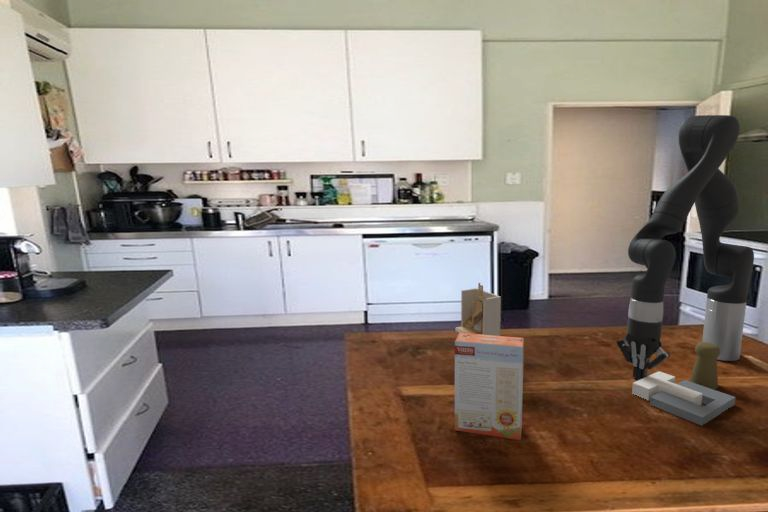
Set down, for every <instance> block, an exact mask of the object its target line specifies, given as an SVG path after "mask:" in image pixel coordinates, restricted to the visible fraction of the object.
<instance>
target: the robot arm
mask: <svg viewBox="0 0 768 512" xmlns="http://www.w3.org/2000/svg"><path fill="white" fill-rule="evenodd" d="M740 130H741V129H740V123H739V120H738V119H737V118H736V116H733V115H727V114H726V115H725V114H724V115H723V114H717V115H716V114H710V115H708V114H707V115H706V114H704V115H701V114H700V115H699V114H698V115H692V116H689V117H686V118H685V119H684V120H683V121H682V123H681V125H680V126H679V130H678V146H679V150H680V153H681V155H682V158H683V161H684V164H685V167H686V170H687V173H686V174H684V175H683V176H682V177H681V178H679V179H678V180H677V181H675V182H673V184H672V185H670V187H668V188H667V189H666V190H664V191H665V192H664V193H662V195H661V197H660V198H659V200H658V203H657V204H656V207H655V209H654V210H653V212H652V214H651V216H650V218H649V219H648V220H647V222H645V223H644V224H643V226H642V227H641V228H640V229H639V230H638V232H637V233H635V235H634V236H633V237H632V239H631V241H630V243H629V245H628V249H627V255H628V258H629V260H630V261H631V262H632V263H634V264H636V265H641V266H644V267H645V266H646V267H647V269H646V272H645V274H638V275H635V276H634V277H633V279H632V283H631V294H630V299H629V300H630V301H629V306H628V309H627V310H628V311H627V312H628V317H627V325H626V327H627V328H626V331H627V333H626V334H625V337H624V338H622V339H619V340H617V341H616V344H617V346H618V348H619V349H620V352H621V354H622V355H623V357H624V359H625V361H626V362H627V363H631V364H632V366H633V371H632V372H633V373H632V377H633V378H634V381H635V382H636V381H638V380H640V379H643V378H645V377H647V376H648V372H649V371H648V370H652V369H654V368H656V367H658V366H659V365H660V364H662V363H663V362H664V361H666V360H668V358H670V357H671V353H669V352H668V351H667V352H666V351H665V350H664V349H663V348H662V342H661V337H662V328H663V317H664V295H665V286H666V283H667V281H668V278H669V276H670V274H671V272H672V269H673V267H674V264H675V262H676V256H677V252H676V249H675V246H674V245H673V243H672V242H670V240H669V241H668V240H666V239H663V238H664V237H665V236H667V235H674V234H677V233H679V232H680V231H681V229H683V226H684V224H685V222H686V220H687V218H688V216H689V214H690V212H691V211H692V208H693V206H694V207H695V210H696V211H695V212H696V215H697V219H698V223H699V228H700V233H701V240H702V241H701V242H702V243H701V244H702V253H703V255H702V257H703V264H704V268H705V270H706V272H708V273H709V274H710V275H713V276H714V275H715V276H720V277H727V278H728V277H729V278H733V279H732V282H731V283H728V284H722V285H716V286H711V287H709V288H708V289H707V295H706V302H705V313H704V323H703V330H702V331H703V332H702V341H701V342H708V343H713V344H715V345H717V346H718V347H719V349H720V355H719V357H717V361H718V360H719V361H724V362H737V361H738V360H740V358H741V357H740V356H741V347H742V339H743V333H744V327H745V318H746V317H745V315H746V308H747V302H748V295H749V289H750V284H751V283H750V282H751V276H752V273H753V272H752V271H753V267H754V262H755V253H754V250H753V248H751V246H746V245H739V244H738V245H737V244H724V243H721V239H720V238H721V236H722V235H723V234H724V232H725V231H726V230H727V229H728V228H729V226H731V225H732V223H733V222H735V219H736V218H737V217H738V215H739V211H740V206H739V199H738V191H737V189H736V187H735V184H734V183H733V182H732V181H731V180H730V179H729V177H728V176H727V175H726V174H724V172H723V171H722V170H720V167H721V166H722V165H723V162H724V161H725V160H726V159H727V157H728V156H729V154H730V153H731V151H732V150H733V148H734V146H735V144H736V143H737V140H738V138H739V134H740ZM654 354H655V358H654V359H653V360H651V359H652V357H653V355H654Z"/></svg>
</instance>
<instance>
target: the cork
mask: <svg viewBox="0 0 768 512" xmlns="http://www.w3.org/2000/svg"><path fill="white" fill-rule="evenodd" d="M694 351H695V353H696V358H695V361H694V365H693V367H692V368H693V369H692V372H691V376H690V380H689V381H690V382H693V383H695V384H698V385H701V386H704V387H707V388H710V389H713V390H717V389H718V388H719V383H718V382H719V378H718V375H719V374H718V363H717V362H718V359H717V357H719V355H720V349H719V347H718V346H717V345H715V344H713V343H708V342H702V341H700V342H698V343H697V344H696V345H695V347H694ZM716 388H717V389H716Z"/></svg>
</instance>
